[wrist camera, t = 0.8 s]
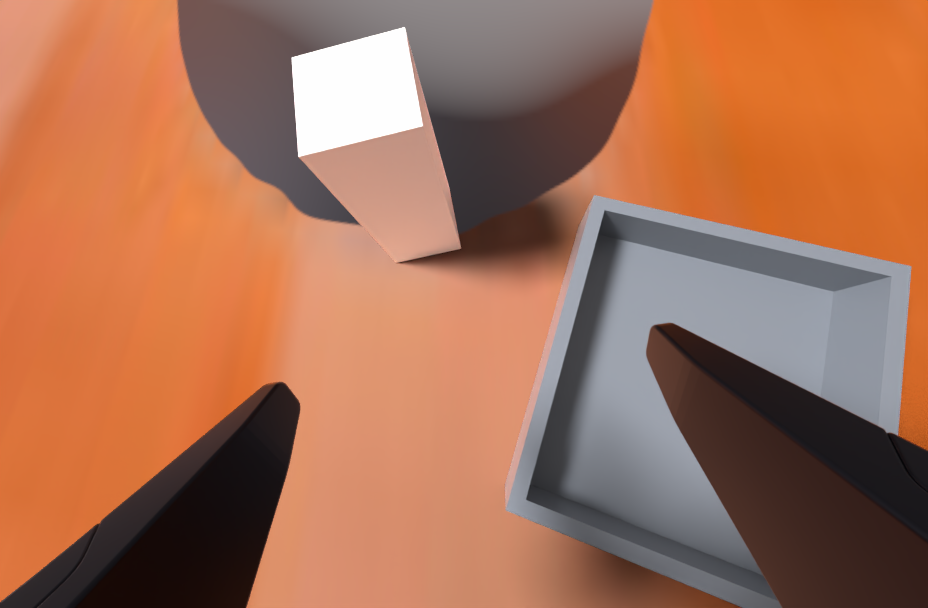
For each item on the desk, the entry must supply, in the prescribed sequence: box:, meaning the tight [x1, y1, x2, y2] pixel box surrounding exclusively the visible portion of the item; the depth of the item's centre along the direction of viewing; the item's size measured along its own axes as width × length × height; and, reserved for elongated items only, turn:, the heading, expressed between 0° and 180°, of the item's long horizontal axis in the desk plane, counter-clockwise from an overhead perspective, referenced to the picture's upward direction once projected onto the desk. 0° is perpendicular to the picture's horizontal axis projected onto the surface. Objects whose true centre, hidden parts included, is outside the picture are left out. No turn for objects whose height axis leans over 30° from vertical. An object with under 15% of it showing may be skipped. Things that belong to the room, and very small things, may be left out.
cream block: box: [292, 27, 461, 263], centre depth 19 cm, size 5×5×12 cm
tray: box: [505, 195, 911, 608], centre depth 18 cm, size 18×16×4 cm
